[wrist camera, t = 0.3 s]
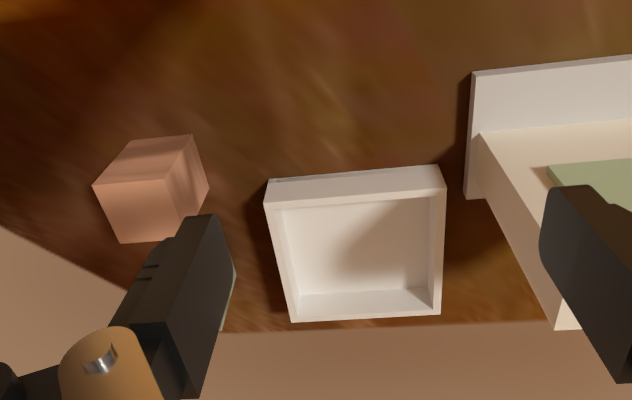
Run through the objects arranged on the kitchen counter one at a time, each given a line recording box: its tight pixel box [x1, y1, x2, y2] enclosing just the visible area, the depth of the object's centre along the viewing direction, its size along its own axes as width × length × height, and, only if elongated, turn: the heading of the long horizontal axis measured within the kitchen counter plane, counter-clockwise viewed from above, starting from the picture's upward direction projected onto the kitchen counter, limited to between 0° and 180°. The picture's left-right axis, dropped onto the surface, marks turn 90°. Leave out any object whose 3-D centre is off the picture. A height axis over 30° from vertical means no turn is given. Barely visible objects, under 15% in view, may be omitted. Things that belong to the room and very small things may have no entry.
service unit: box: [463, 54, 632, 330], centre depth 23 cm, size 9×12×14 cm
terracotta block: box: [91, 134, 209, 244], centre depth 29 cm, size 4×4×6 cm
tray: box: [263, 164, 447, 323], centre depth 33 cm, size 12×12×3 cm
